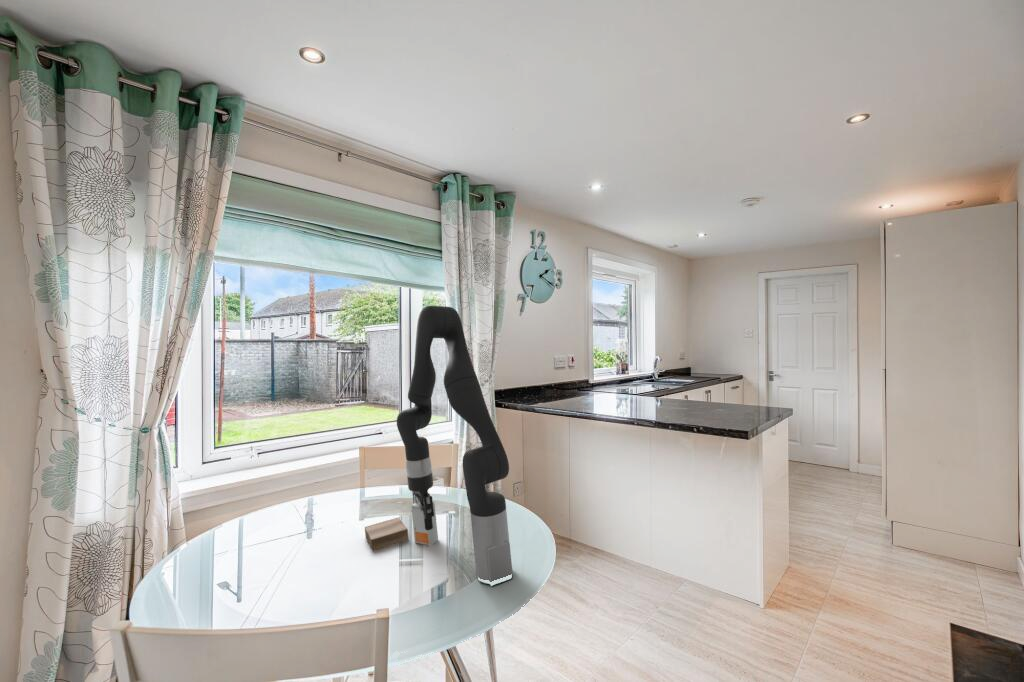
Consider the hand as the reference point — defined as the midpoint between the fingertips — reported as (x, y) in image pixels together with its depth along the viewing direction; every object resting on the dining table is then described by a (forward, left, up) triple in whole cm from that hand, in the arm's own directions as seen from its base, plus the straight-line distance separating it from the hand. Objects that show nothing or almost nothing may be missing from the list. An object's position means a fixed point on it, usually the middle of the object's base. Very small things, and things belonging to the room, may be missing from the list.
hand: (425, 524), depth 140 cm
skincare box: (0, 0, -6) cm, 6 cm away
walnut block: (+10, +10, -6) cm, 15 cm away
